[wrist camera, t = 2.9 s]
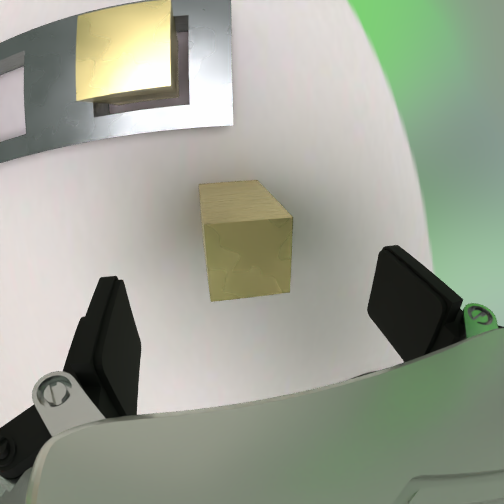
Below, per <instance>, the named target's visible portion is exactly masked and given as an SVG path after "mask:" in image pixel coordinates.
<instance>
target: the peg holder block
mask: <svg viewBox="0 0 504 504" xmlns="http://www.w3.org/2000/svg"><path fill="white" fill-rule="evenodd" d="M180 31H188V40H189V96H190V105H181V106H171V107H161V108H153V109H145V110H137V111H131V112H124V113H118V114H112V115H109V104H114V105H122V104H129V103H135V102H142V101H150V100H158V99H167V98H178V97H179V81H178V38H177V32H180ZM22 66H24V106H25V123H26V134H25V135H22V136H19V137H15V138H12V139H9V140H6V141H3V142H0V163H3V162H6V161H9V160H13V159H16V158H20V157H24V156H27V155H31V154H35V153H39V152H43V151H47V150H51V149H56V148H60V147H65V146H69V145H74V144H79V143H84V142H89V141H95V140H100V139H106V138H112V137H118V136H125V135H132V134H139V133H147V132H155V131H164V130H174V129H184V128H196V127H211V126H230V125H233V98H232V47H231V0H145V1H139V2H132V3H127V4H121V5H116V6H111V7H106V8H102V9H98V10H93V11H89V12H86V13H82V14H78V15H75V16H71V17H68V18H64V19H61V20H58V21H55V22H52V23H49V24H46V25H43V26H40V27H38V28H35V29H32V30H30V31H27V32H25V33H22V34H20V35H17V36H15V37H13V38H10V39H8V40H6V41H4V42H1V43H0V75H2V74H4V73H7V72H9V71H11V70H14V69H16V68H19V67H22Z"/></svg>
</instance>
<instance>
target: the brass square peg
mask: <svg viewBox="0 0 504 504" xmlns="http://www.w3.org/2000/svg"><path fill="white" fill-rule="evenodd" d="M199 195H200V208H201V221H202V233H203V244H204V252H205V261H206V269H207V277H208V284H209V292H210V300H211V302H213V301H222V300H231V299H240V298H248V297H257V296H265V295H273V294H281V293H288V292H290V278H291V256H292V231H293V217H292V216H291V215H290V214H289V213H288V212H287V211H286V210H285V208H284V207H283V206H282V205H281V204H280V203H279V202H278V201H277V200H276V199H275V198H274V197H273V196H272V195H271V194H270V193H269V192H268V191H267V190H266V189H265V188H264V187H263V186H262V185H261V184H260V182H259V181H258V180H250V181H234V182H220V183H207V184H199Z"/></svg>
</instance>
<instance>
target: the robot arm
mask: <svg viewBox="0 0 504 504" xmlns="http://www.w3.org/2000/svg"><path fill="white" fill-rule="evenodd" d="M462 301H463V299H462V298H461V297H460V296H459V295H457V294H456V293H455V292H454V291H453V290H452V289H451V288H449V287H448V286H447V285H446V284H445V283H444V282H443V281H441V280H440V279H439V278H438V277H437V276H435V275H434V274H433V273H432V272H431V271H429V270H428V269H427V268H426V267H425V266H423V265H422V264H421V263H420V262H419V261H417V260H416V259H415V258H414V257H412V256H411V255H410V254H409V253H407V252H406V251H405V250H404V249H402V248H401V247H400V246H398V245H393V246H385V247H383V249H382V251H380V252H379V255H378V260H377V266H376V271H375V276H374V280H373V285H372V290H371V294H370V299H369V303H368V308H367V311H368V314H369V316H370V318H371V319H372V320H373V321H374V323H375V324H376V325H377V326H378V328H379V329H380V330H381V332H382V333H383V334H384V336H385V337H386V338H387V339H388V341H389V342H390V343H391V345H392V346H393V347H394V349H395V350H396V351H397V353H398V354H399V355H400V357H401V358H402V359H403V361H404V363H401V364H398V365H395V366H392V367H389V368H386V369H383V370H380V371H377V372H374V373H370V374H367V375H364V376H360V377H357V378H353V379H350V380H346V381H343V382H339V383H335V384H331V385H327V386H323V387H319V388H315V389H311V390H306V391H302V392H297V393H293V394H288V395H283V396H279V397H273V398H268V399H263V400H257V401H251V402H245V403H239V404H232V405H225V406H218V407H210V408H202V409H194V410H185V411H176V412H165V413H152V414H142V415H137V397H138V382H139V369H140V357H141V342H140V338H139V335H138V331H137V328H136V325H135V321H134V318H133V314H132V311H131V307H130V304H129V300H128V296H127V292H126V288H125V284H124V281H123V280H118V278H117V276H110V277H101V278H100V279H99V282H98V284H97V287H96V289H95V292H94V294H93V297H92V300H91V302H90V305H89V308H88V310H87V313H86V316H85V317H82V318H81V319H80V321H79V324H78V326H77V329H76V332H75V335H74V338H73V341H72V344H71V347H70V350H69V353H68V356H67V359H66V362H65V366H64V369H63V372H62V371H56V372H51V373H49V374H46V375H44V376H43V377H42V378H40V379H39V380H38V382H37V383H36V384H35V386H34V388H33V391H32V399H33V402H34V405H33V406H31V407H30V408H28V409H27V410H25V411H24V412H23V413H21V414H20V415H18V416H17V417H15V418H14V419H13V420H11V421H10V422H8V423H7V424H5V425H4V426H3V427H1V428H0V504H504V327H502V326H498V324H497V320H496V317H495V315H494V314H493V312H492V311H491V310H490V309H488V308H487V307H485V306H483V305H480V304H476V303H471V304H467V305H466V306H465V307H464V309H463V311H462V310H461V309H460V307H461V304H462Z"/></svg>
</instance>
